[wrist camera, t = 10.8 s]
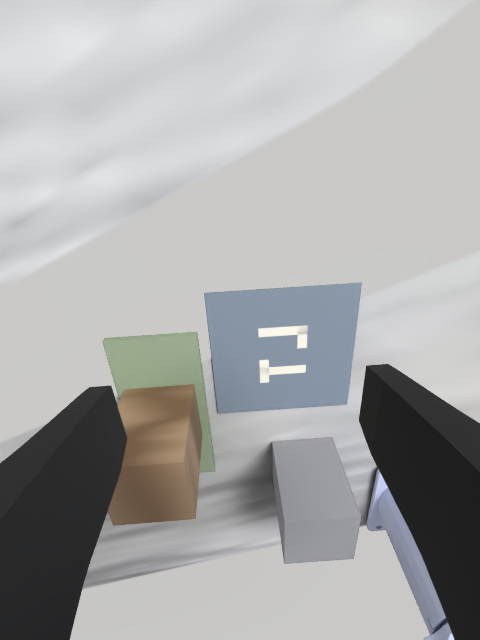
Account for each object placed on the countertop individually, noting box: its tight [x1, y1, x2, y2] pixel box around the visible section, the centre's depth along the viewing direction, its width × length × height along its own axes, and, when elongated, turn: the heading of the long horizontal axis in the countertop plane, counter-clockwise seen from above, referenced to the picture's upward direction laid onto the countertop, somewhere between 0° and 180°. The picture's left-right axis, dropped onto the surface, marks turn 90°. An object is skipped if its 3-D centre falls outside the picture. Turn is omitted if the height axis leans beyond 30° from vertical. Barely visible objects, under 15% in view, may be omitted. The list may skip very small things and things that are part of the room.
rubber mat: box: [103, 332, 215, 472], centre depth 23 cm, size 6×12×1 cm, turn 3°
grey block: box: [272, 437, 361, 564], centre depth 23 cm, size 4×4×6 cm
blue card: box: [204, 283, 362, 413], centre depth 21 cm, size 9×9×1 cm
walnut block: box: [108, 384, 202, 525], centre depth 20 cm, size 4×4×6 cm
